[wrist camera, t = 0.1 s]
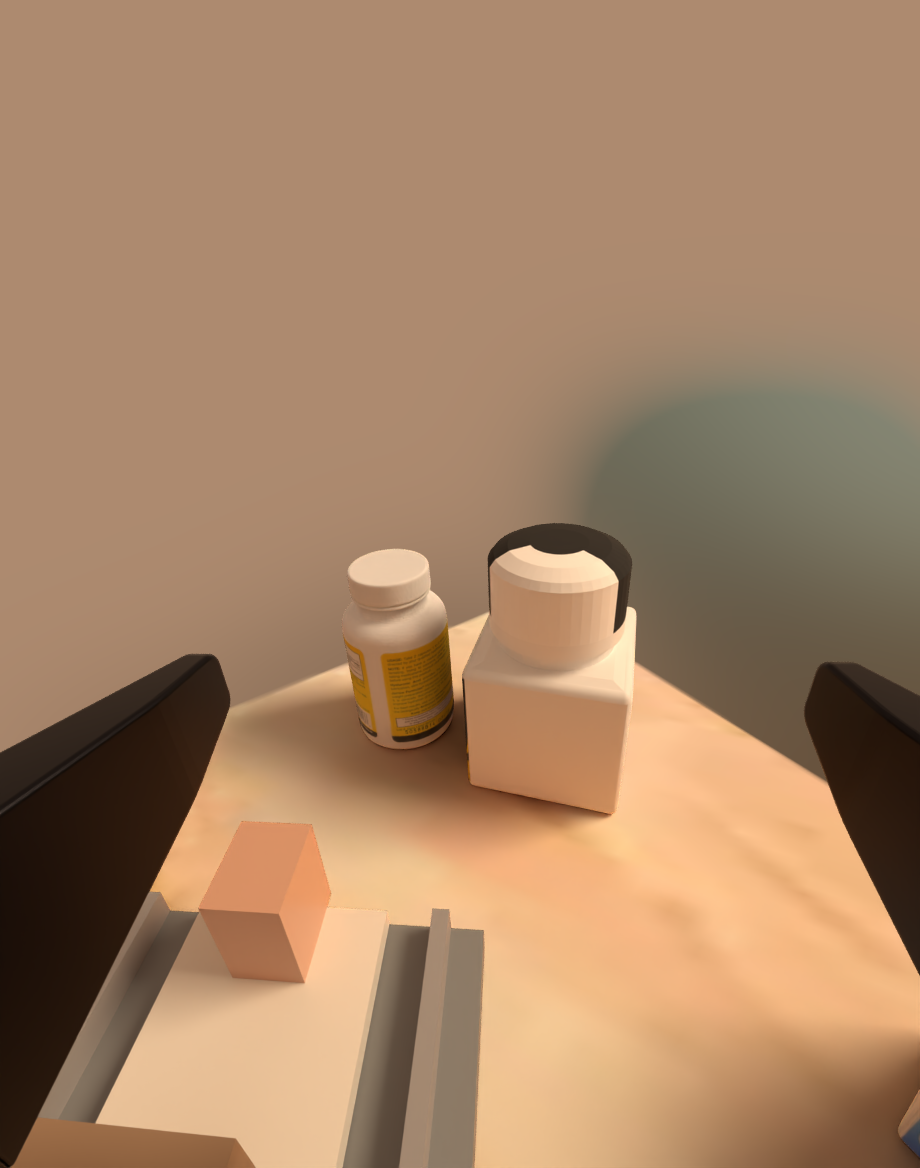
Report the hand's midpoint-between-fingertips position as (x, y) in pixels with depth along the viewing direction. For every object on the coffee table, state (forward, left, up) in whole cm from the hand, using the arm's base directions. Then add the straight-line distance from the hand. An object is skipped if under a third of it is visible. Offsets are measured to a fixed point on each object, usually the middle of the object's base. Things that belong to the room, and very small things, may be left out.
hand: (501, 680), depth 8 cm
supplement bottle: (+17, +6, -17) cm, 24 cm away
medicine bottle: (+15, -2, -17) cm, 22 cm away
